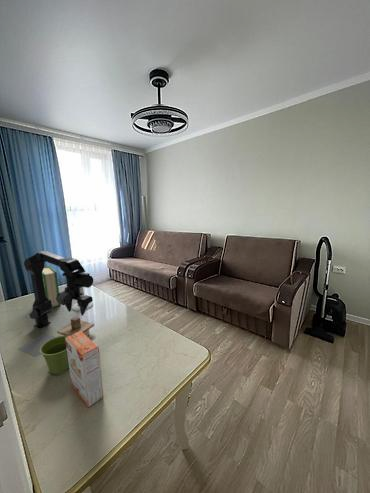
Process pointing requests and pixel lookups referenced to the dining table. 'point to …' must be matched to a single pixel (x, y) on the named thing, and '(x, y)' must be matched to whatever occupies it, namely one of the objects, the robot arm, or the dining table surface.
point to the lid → (75, 327)
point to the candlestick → (75, 307)
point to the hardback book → (51, 284)
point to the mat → (35, 345)
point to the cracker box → (84, 367)
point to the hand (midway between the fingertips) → (76, 313)
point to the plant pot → (56, 354)
